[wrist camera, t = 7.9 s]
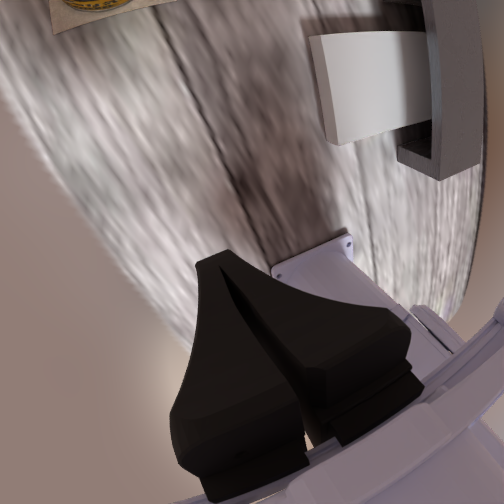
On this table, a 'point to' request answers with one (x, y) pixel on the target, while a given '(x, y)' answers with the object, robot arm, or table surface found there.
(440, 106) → the grey c-shaped bracket
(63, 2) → the condiment
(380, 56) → the tile
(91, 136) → the table surface
